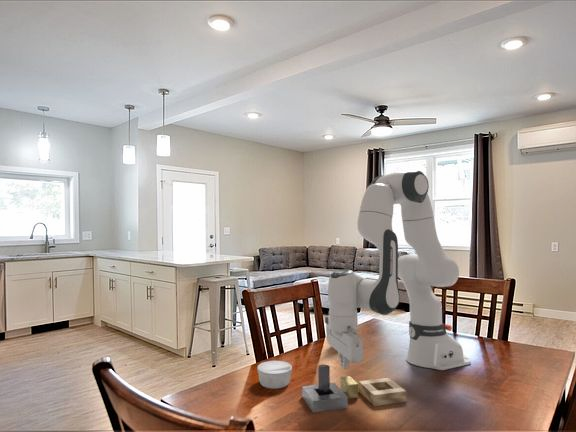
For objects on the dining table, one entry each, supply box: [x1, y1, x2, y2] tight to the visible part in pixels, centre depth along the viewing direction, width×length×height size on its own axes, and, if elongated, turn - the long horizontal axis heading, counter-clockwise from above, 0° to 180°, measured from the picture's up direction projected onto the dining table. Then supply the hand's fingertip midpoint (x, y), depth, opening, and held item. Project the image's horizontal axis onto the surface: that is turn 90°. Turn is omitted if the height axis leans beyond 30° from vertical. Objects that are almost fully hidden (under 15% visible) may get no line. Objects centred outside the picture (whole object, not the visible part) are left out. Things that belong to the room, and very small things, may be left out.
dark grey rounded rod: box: [317, 364, 331, 396], centre depth 111 cm, size 3×3×10 cm
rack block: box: [358, 377, 407, 407], centre depth 114 cm, size 10×10×3 cm
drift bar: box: [340, 375, 359, 400], centre depth 116 cm, size 3×6×4 cm, turn 15°
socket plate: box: [301, 382, 349, 413], centre depth 111 cm, size 10×10×3 cm
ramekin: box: [256, 360, 293, 390], centre depth 124 cm, size 11×11×5 cm
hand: (344, 367), depth 121 cm, fingers closed
